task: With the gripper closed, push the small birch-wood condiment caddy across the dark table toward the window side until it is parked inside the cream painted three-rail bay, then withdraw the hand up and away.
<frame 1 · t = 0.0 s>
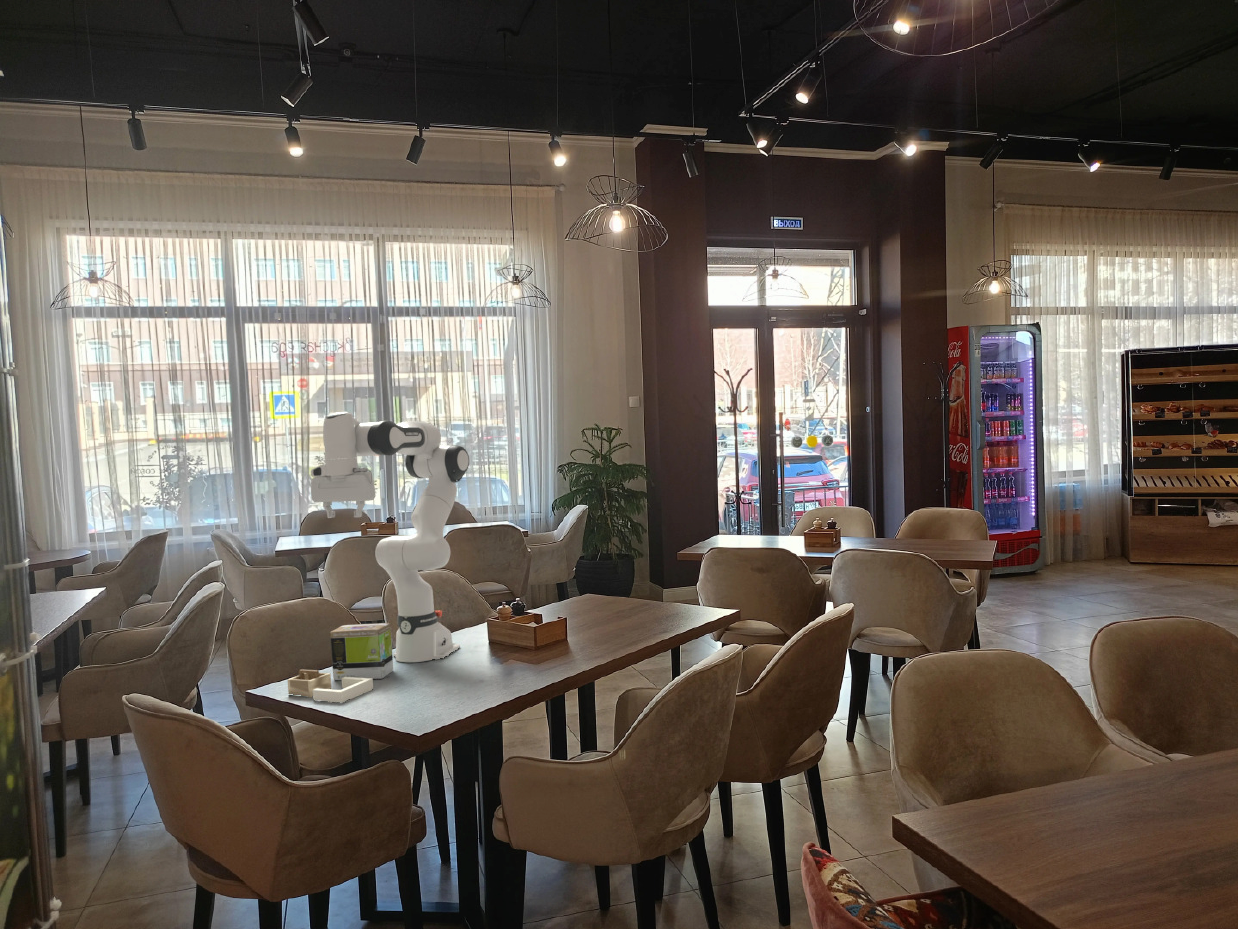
hand: (344, 517, 246), 48 cm above the table, tool pointing down, fingers open, 8 cm apart
caddy: (310, 692, 242), on the table
tea box: (363, 676, 257), on the table
bay: (341, 694, 237), on the table
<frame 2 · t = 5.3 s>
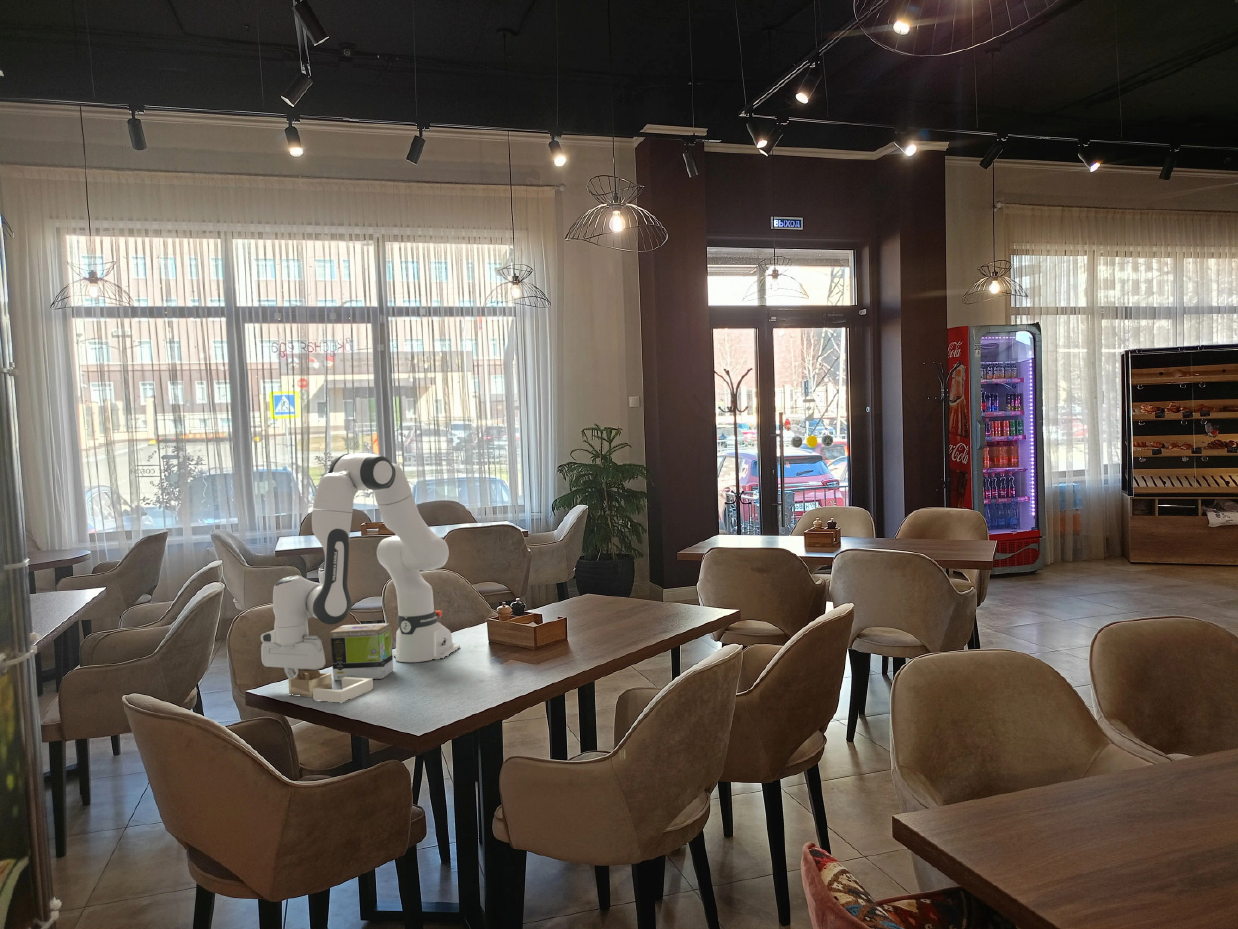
hand: (294, 683, 244), 2 cm above the table, tool pointing down, fingers closed
caddy: (311, 692, 241), on the table, touching gripper
everything else where it was.
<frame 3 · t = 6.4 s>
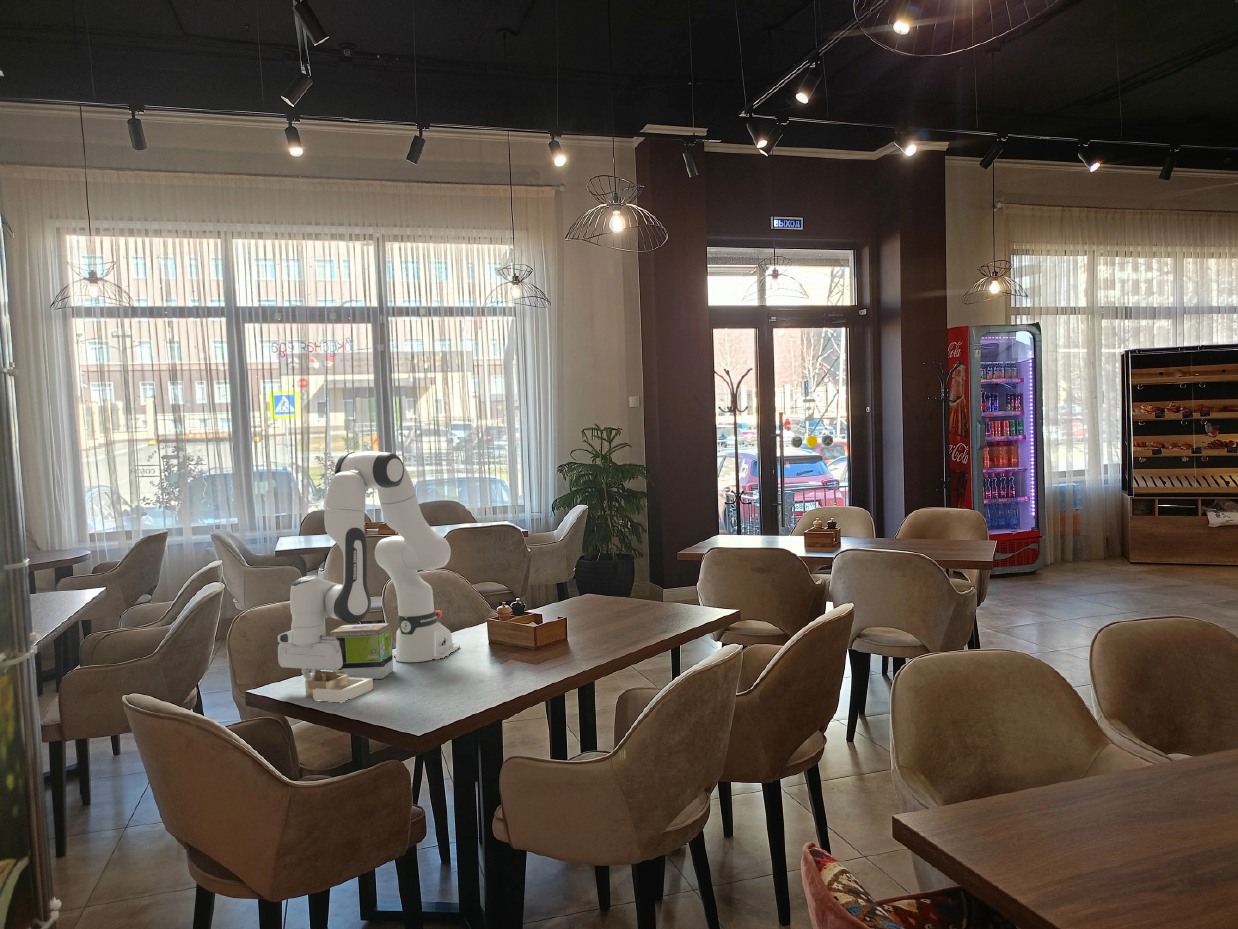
hand: (311, 684, 241), 2 cm above the table, tool pointing down, fingers closed
caddy: (327, 694, 239), on the table, touching gripper
everything else where it was.
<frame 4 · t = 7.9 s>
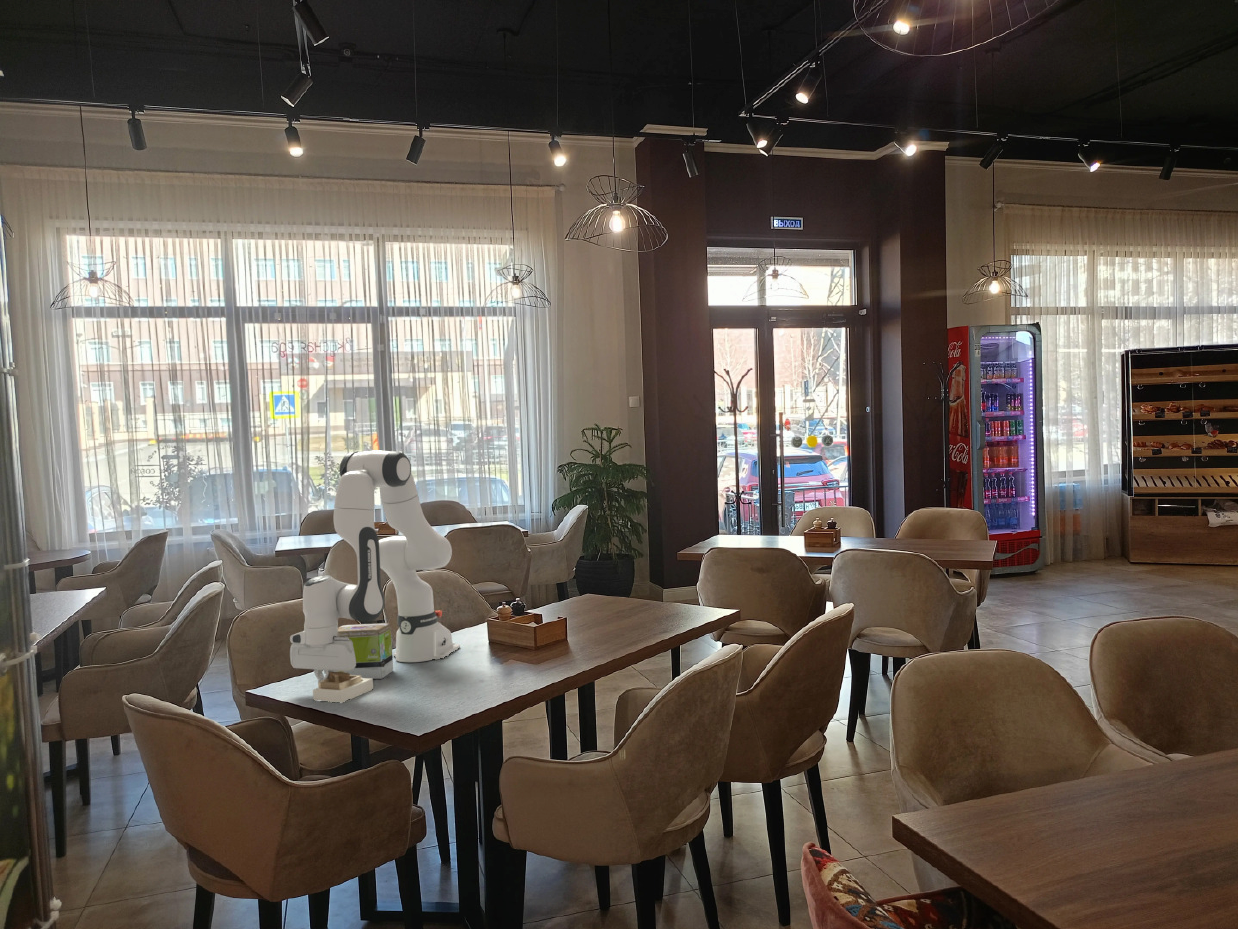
hand: (324, 685, 239), 2 cm above the table, tool pointing down, fingers closed
caddy: (340, 695, 237), on the table, touching bay, gripper
everything else where it was.
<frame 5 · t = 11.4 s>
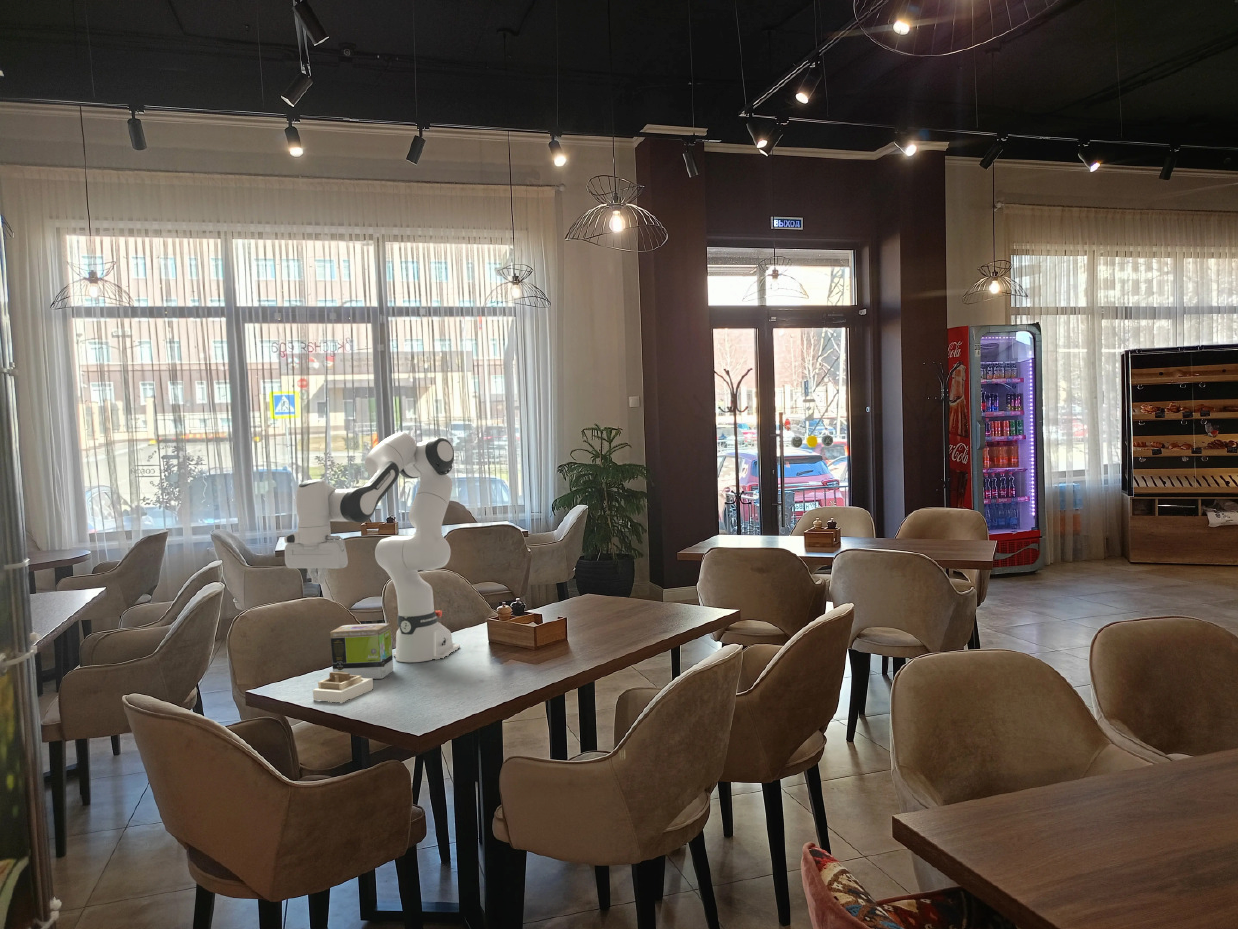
hand: (317, 583, 249), 29 cm above the table, tool pointing down, fingers closed
caddy: (340, 695, 237), on the table
everything else where it was.
at the end: caddy 0.4 cm from the target spot, on the table; caddy tilted 0°; caddy touching table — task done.
